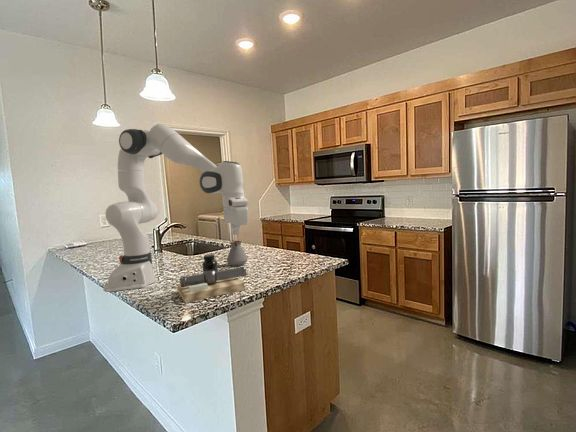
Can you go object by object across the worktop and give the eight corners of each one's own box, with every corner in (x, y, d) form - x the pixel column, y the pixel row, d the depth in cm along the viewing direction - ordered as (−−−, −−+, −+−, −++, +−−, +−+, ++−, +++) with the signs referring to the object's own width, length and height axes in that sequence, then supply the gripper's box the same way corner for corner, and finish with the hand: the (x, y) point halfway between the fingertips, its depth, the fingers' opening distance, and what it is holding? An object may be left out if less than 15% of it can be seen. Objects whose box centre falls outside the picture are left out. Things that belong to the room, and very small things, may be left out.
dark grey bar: (181, 290, 128) (180, 277, 128) (180, 286, 133) (179, 274, 132) (248, 277, 140) (247, 266, 139) (244, 275, 144) (243, 264, 144)
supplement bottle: (212, 277, 156) (210, 253, 154) (221, 279, 151) (219, 254, 150) (200, 281, 150) (198, 256, 149) (209, 283, 146) (207, 257, 145)
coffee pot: (227, 263, 185) (225, 237, 184) (247, 261, 187) (245, 235, 185) (226, 272, 164) (224, 243, 163) (249, 270, 166) (247, 241, 164)
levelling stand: (185, 302, 123) (183, 290, 123) (178, 291, 137) (176, 280, 137) (244, 289, 134) (243, 278, 134) (232, 281, 148) (231, 270, 148)
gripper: (218, 201, 140) (221, 232, 141) (233, 202, 122) (236, 238, 123) (233, 200, 143) (235, 231, 144) (249, 200, 125) (252, 236, 126)
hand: (235, 234), depth 133 cm, fingers closed
